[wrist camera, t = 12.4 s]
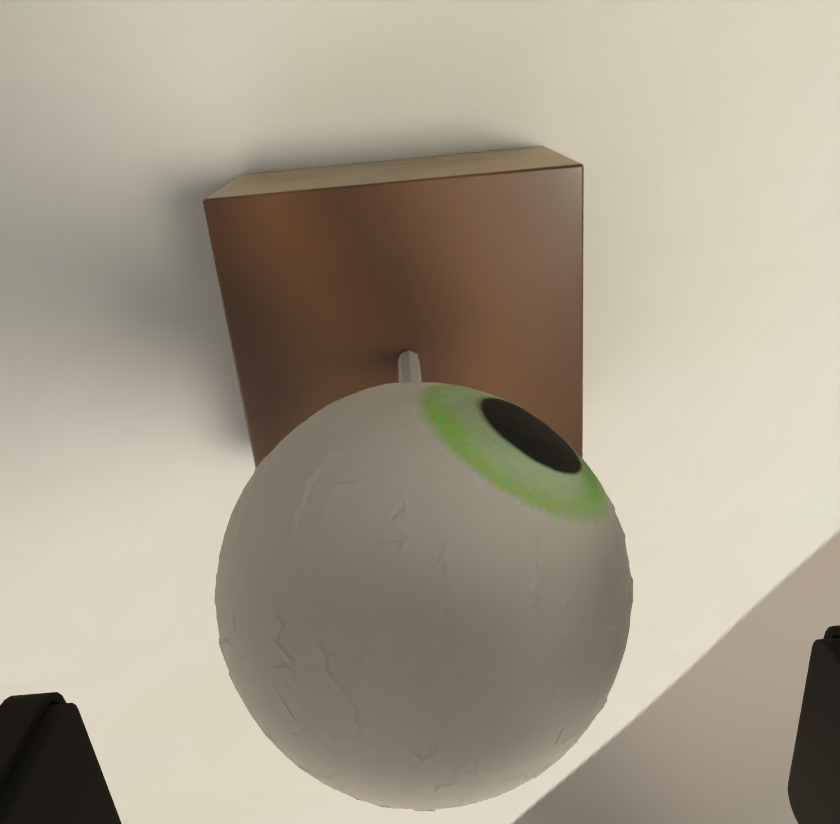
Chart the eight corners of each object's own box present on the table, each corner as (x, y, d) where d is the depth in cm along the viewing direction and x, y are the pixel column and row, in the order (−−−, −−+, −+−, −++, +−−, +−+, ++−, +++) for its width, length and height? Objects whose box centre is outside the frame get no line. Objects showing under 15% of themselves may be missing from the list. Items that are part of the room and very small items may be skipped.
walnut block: (545, 145, 27) (584, 163, 22) (549, 422, 32) (582, 495, 26) (239, 174, 27) (201, 199, 22) (287, 446, 32) (266, 524, 26)
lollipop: (564, 315, 23) (809, 656, 10) (451, 492, 26) (520, 965, 12) (358, 204, 22) (305, 423, 8) (258, 404, 24) (87, 832, 10)
